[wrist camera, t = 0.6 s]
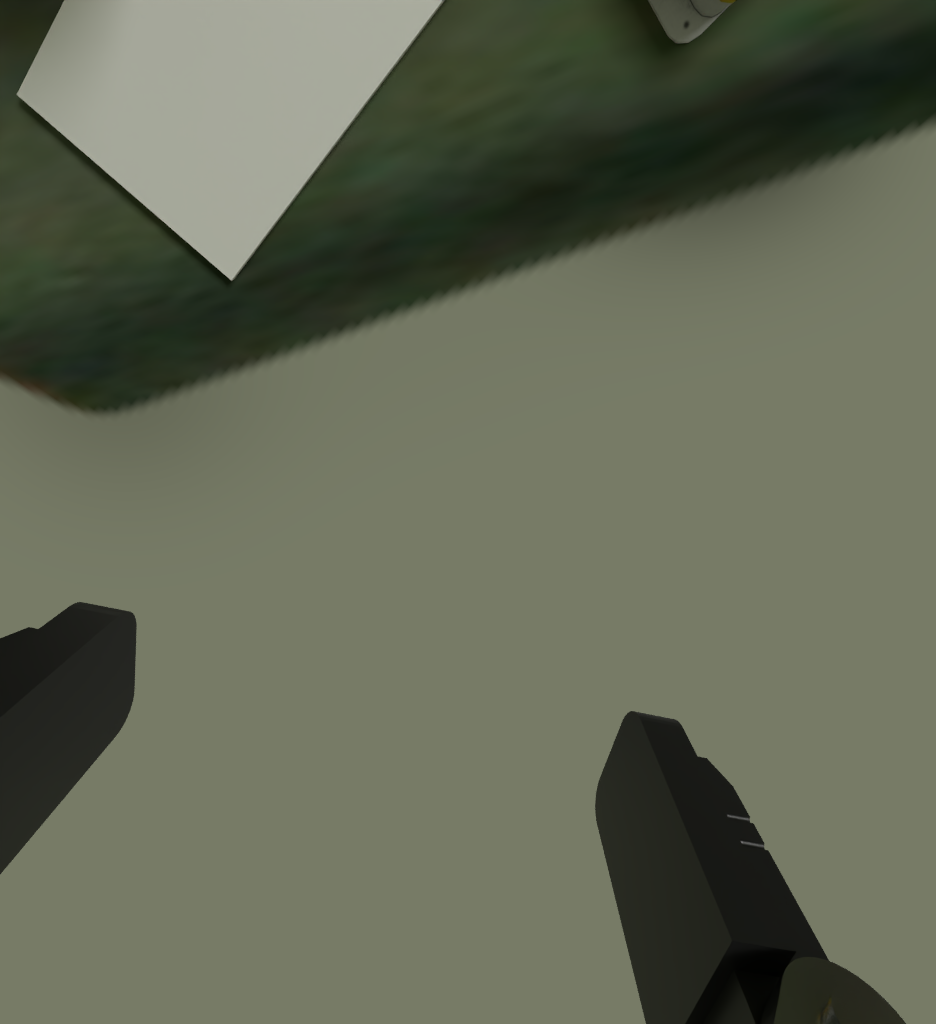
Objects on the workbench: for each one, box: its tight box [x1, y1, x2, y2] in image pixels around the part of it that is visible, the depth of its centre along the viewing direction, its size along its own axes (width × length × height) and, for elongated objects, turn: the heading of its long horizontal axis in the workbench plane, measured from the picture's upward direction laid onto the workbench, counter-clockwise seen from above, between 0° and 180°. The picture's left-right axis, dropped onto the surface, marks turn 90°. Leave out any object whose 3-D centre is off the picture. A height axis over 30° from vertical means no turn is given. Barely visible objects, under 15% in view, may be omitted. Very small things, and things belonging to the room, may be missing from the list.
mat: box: [17, 0, 445, 281], centre depth 24 cm, size 11×20×1 cm, turn 135°
